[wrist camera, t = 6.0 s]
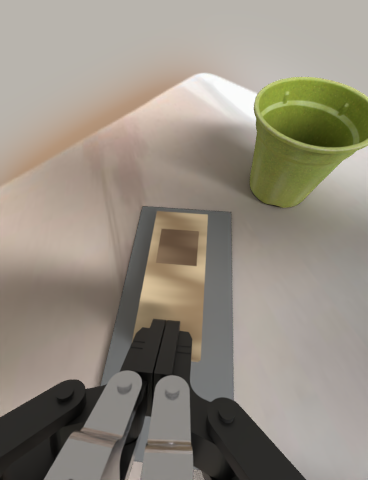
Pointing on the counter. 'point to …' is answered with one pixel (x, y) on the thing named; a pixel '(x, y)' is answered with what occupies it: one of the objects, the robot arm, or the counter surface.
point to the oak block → (176, 275)
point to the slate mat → (214, 310)
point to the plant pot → (304, 136)
